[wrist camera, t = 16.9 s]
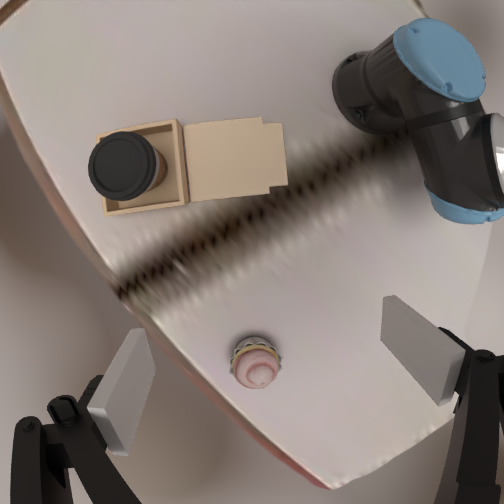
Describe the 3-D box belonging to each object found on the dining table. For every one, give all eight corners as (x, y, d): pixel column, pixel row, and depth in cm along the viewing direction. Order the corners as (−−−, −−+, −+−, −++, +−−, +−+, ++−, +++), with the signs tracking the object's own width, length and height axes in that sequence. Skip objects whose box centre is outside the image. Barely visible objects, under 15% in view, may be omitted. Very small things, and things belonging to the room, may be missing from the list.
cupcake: (222, 367, 55) (223, 401, 45) (233, 324, 53) (235, 354, 43) (271, 374, 56) (279, 408, 46) (284, 333, 54) (296, 363, 44)
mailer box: (280, 116, 46) (287, 108, 40) (287, 191, 48) (296, 193, 43) (109, 139, 44) (95, 134, 38) (117, 212, 47) (104, 216, 41)
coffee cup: (165, 201, 47) (140, 211, 32) (118, 188, 46) (76, 192, 31) (181, 150, 45) (161, 137, 31) (132, 138, 44) (96, 122, 29)
